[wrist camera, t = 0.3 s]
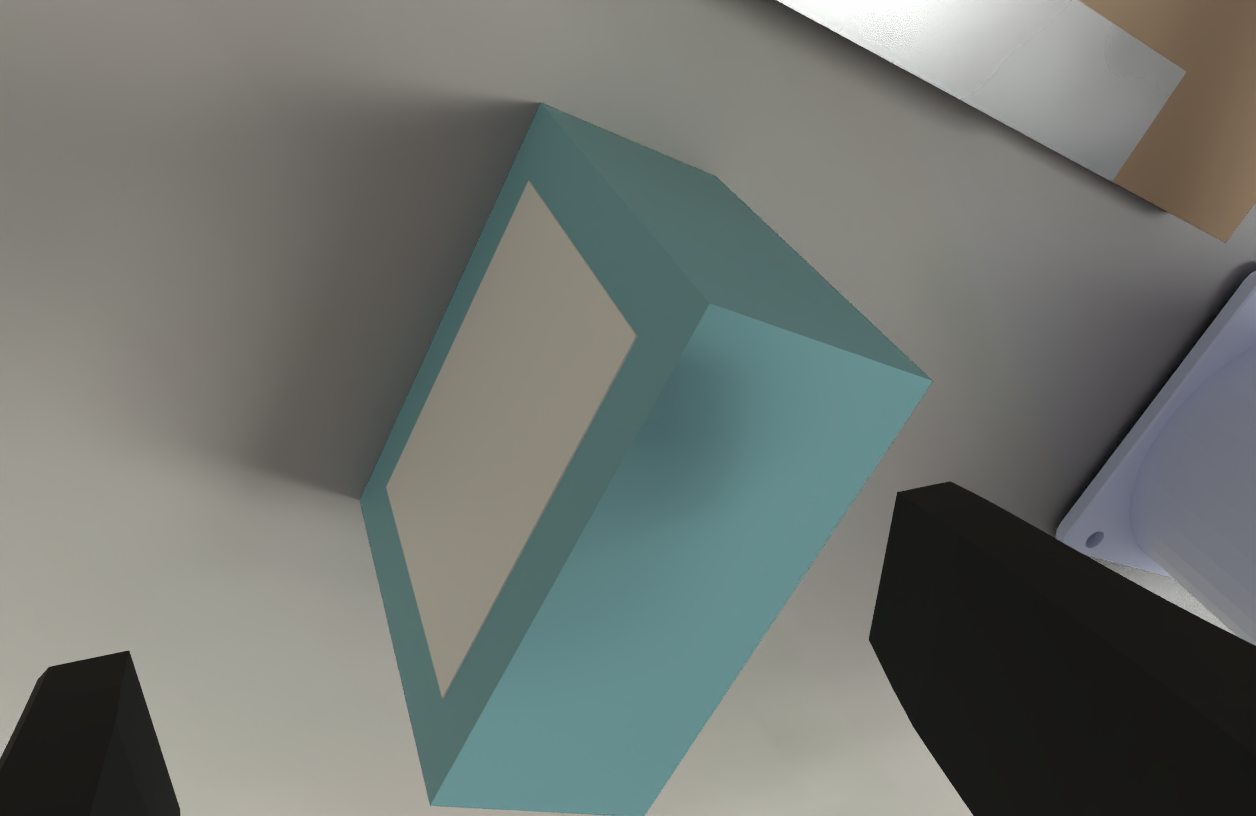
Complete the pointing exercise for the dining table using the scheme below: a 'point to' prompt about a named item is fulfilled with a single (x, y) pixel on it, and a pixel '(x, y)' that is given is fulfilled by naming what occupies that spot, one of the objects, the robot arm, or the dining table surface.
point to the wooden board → (1093, 84)
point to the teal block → (613, 473)
